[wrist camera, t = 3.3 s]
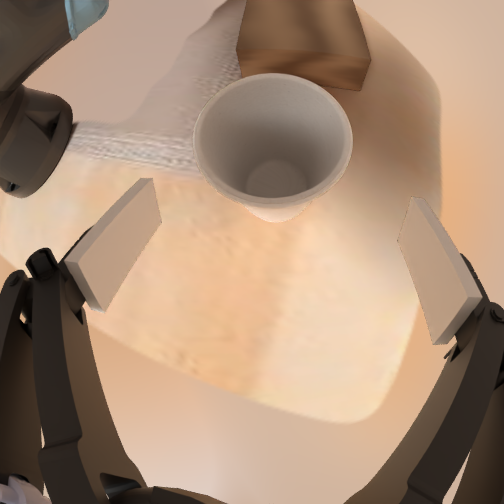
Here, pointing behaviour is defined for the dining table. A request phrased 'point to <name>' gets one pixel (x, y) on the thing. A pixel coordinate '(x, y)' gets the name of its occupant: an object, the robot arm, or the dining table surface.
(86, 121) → the dining table surface
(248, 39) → the walnut block
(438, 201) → the dining table surface
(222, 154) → the dixie cup
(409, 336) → the dining table surface
